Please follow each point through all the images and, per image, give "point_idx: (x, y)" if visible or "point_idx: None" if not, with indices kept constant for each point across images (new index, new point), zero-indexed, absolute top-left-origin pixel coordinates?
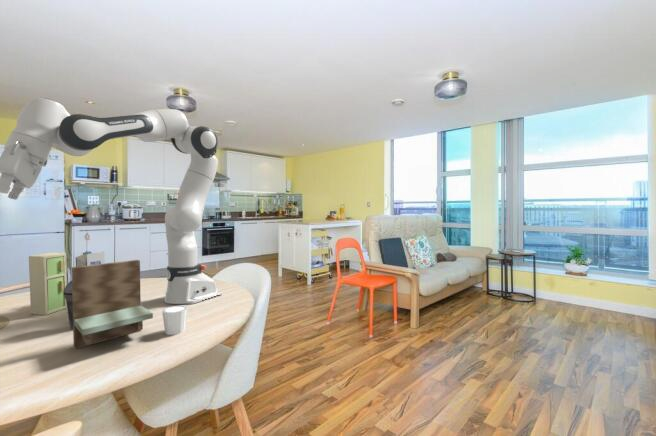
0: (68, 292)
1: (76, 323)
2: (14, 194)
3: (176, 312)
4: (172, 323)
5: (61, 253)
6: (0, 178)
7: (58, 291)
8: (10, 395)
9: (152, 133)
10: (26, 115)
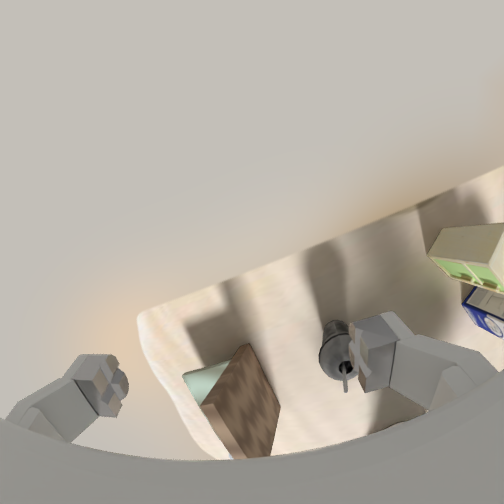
0: (324, 347)
1: (216, 366)
2: (360, 368)
3: (229, 456)
4: None
5: None
6: (25, 400)
7: (460, 273)
8: (148, 312)
9: None
10: None
